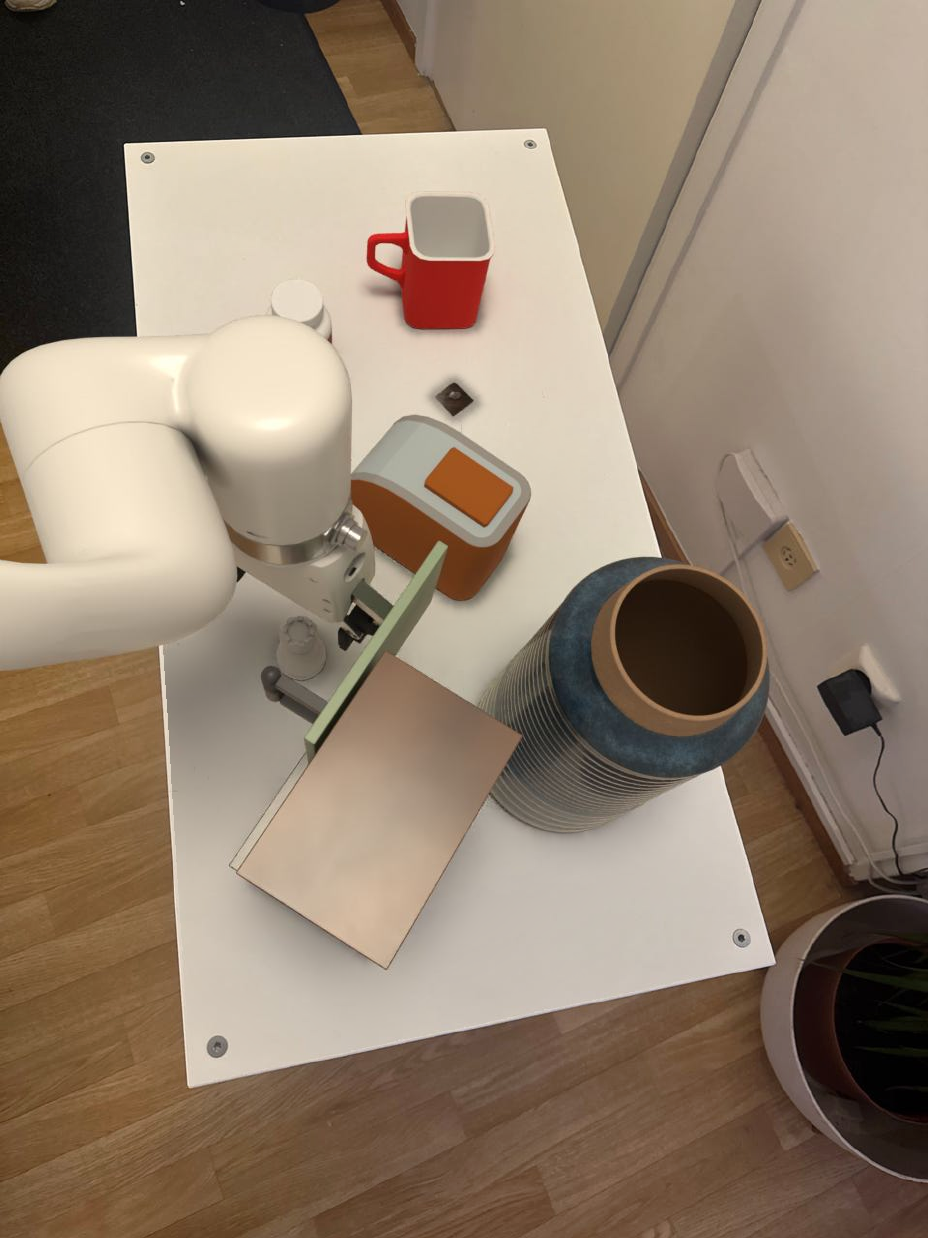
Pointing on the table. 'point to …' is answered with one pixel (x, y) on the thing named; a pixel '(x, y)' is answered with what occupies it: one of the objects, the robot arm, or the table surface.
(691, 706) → the vase
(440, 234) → the mug
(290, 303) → the pill bottle
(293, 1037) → the table surface
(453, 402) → the small square plate
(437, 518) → the alarm clock
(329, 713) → the door
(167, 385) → the robot arm
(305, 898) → the cabinet
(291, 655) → the rook chess piece
